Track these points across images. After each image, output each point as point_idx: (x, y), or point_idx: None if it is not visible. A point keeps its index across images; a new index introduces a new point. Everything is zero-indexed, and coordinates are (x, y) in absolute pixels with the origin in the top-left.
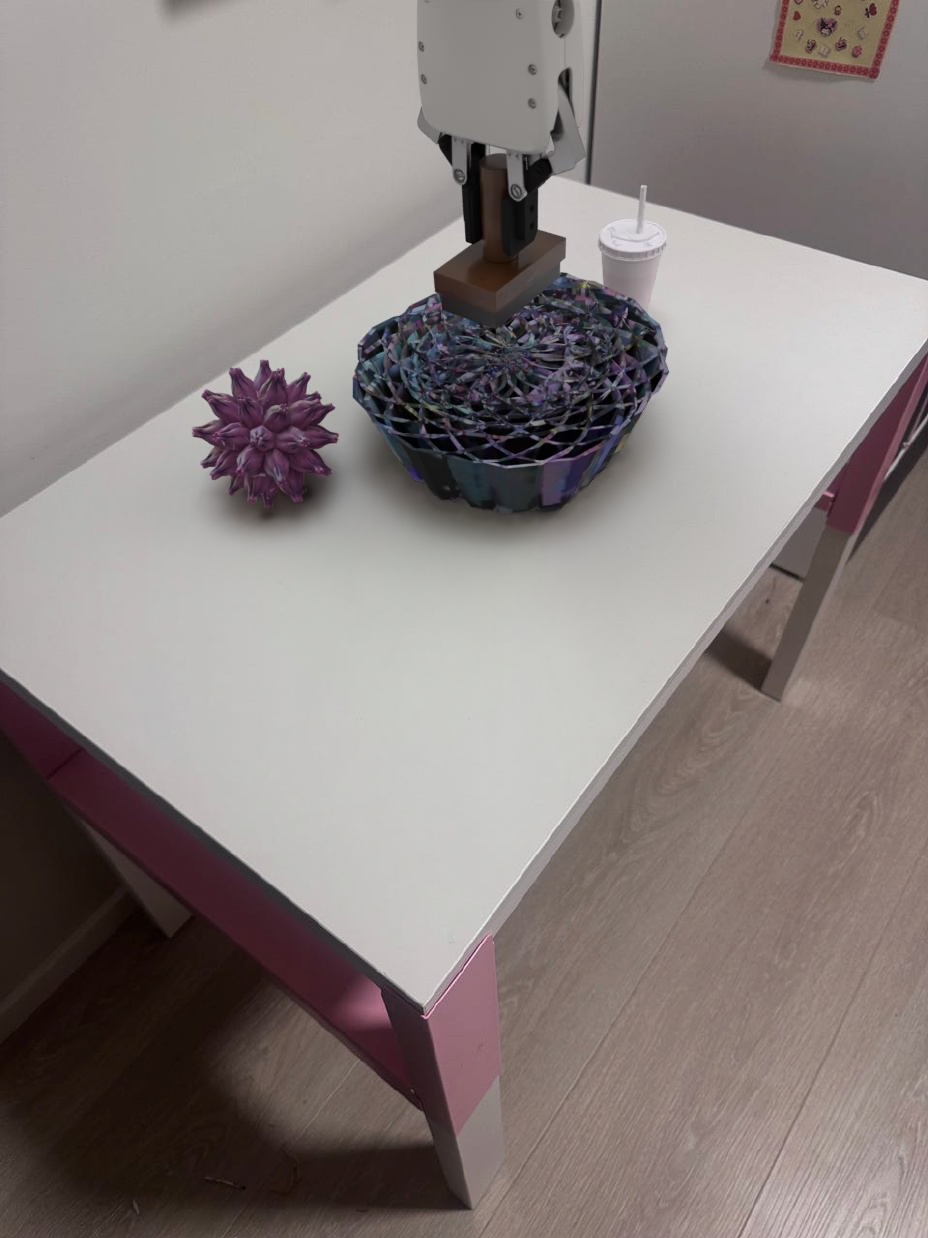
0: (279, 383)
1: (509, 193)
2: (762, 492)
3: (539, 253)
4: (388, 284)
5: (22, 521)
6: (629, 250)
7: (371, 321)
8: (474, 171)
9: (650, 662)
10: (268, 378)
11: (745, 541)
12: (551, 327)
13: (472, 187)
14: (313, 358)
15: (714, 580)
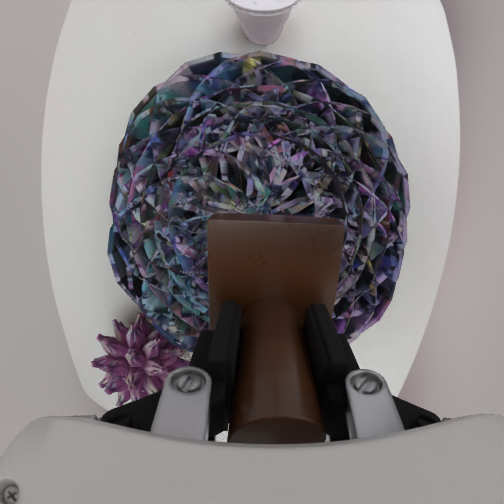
0: (137, 385)
1: (326, 434)
2: (441, 182)
3: (327, 292)
4: (54, 105)
5: (89, 394)
6: (278, 7)
7: (69, 151)
8: (217, 430)
9: (416, 334)
10: (119, 371)
11: (443, 231)
12: (265, 152)
13: (226, 420)
14: (67, 217)
15: (435, 270)
